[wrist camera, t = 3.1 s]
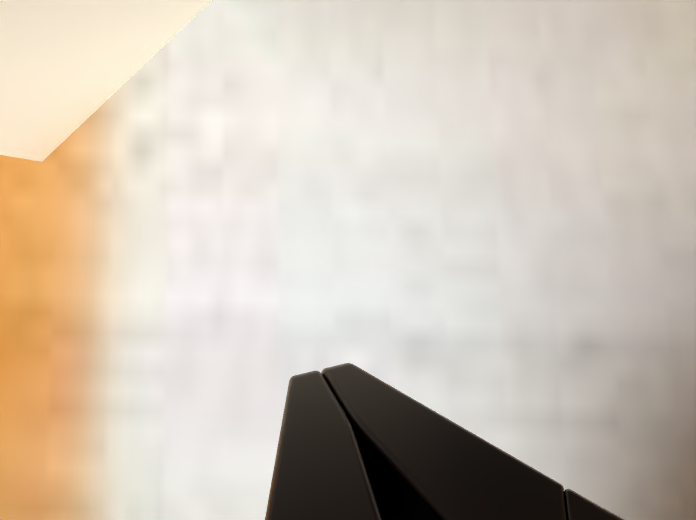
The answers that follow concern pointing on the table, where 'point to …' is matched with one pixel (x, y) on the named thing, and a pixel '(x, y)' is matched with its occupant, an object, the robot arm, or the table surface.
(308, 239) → the table surface
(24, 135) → the cream flat block
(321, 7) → the table surface
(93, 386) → the table surface
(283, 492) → the robot arm
